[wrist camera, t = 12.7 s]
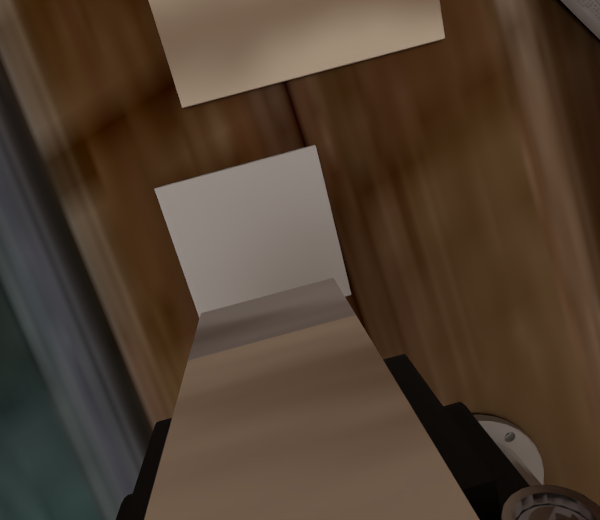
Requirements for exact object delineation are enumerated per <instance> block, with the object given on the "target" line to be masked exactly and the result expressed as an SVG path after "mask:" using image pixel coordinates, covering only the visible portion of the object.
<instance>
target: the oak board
mask: <svg viewBox="0 0 600 520" xmlns="http://www.w3.org/2000/svg"><path fill="white" fill-rule="evenodd" d="M149 3H150V7H151V10H152V13H153V16H154V19H155V22H156V26H157V29H158V32H159V35H160V38H161V42H162V45H163V48H164V51H165V54H166V57H167V61H168V64H169V67H170V70H171V73H172V76H173V80H174V83H175V86H176V89H177V92H178V96H179V99H180V102H181V105H182V108H186V107H190V106H194V105H197V104H201V103H205V102H209V101H213V100H216V99H220V98H224V97H228V96H231V95H235V94H239V93H243V92H247V91H250V90H254V89H258V88H262V87H265V86H269V85H273V84H277V83H281V82H284V81H288V80H292V79H296V78H299V77H303V76H307V75H311V74H315V73H318V72H322V71H326V70H330V69H334V68H337V67H341V66H345V65H349V64H352V63H356V62H360V61H364V60H368V59H371V58H375V57H379V56H383V55H386V54H390V53H394V52H398V51H402V50H405V49H409V48H413V47H417V46H420V45H424V44H428V43H432V42H436V41H439V40H442V39H444V38H445V35H444V29H443V22H442V15H441V9H440V2H439V0H149Z"/></svg>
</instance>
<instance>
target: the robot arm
mask: <svg viewBox="0 0 600 520" xmlns="http://www.w3.org/2000/svg"><path fill="white" fill-rule="evenodd" d="M383 361H384V362H385V364H386V366H387V367H388V369H389V371H390V372H391V374H392V376H393V377H394V379H395V381H396V382H397V384H398V386H399V387H400V389H401V391H402V392H403V394H404V395H405V397H406V399H407V400H408V402H409V404H410V405H411V407H412V409H413V410H414V412H415V414H416V415H417V417H418V419H419V420H420V422H421V424H422V425H423V427H424V429H425V430H426V432H427V434H428V435H429V437H430V439H431V440H432V442H433V443H434V445H435V447H436V448H437V450H438V452H439V453H440V455H441V457H442V458H443V460H444V462H445V463H446V465H447V467H448V468H449V470H450V472H451V473H452V475H453V477H454V478H455V480H456V482H457V483H458V485H459V487H460V488H461V490H462V491H463V493H464V495H465V496H466V498H467V500H468V501H469V503H470V505H471V506H472V508H473V510H474V511H475V513H476V515H477V516H478V518H479V520H600V507H599V506H598V505H597V504H596V503H595V502H593V501H592V500H590V499H589V498H587V497H586V496H584V495H582V494H580V493H578V492H575V491H573V490H570V489H568V488H564V487H559V486H553V485H543V484H544V466H543V462H542V457H541V455H540V453H539V451H538V449H537V447H536V446H535V444H534V443H533V442H532V441H531V440H530V438H529V437H528V436H527V435H526V434H525V433H524V432H523V431H522V430H521V429H519V428H518V427H517V426H515V425H514V424H512V423H510V422H509V421H507V420H504V419H501V418H498V417H495V416H488V415H480V414H479V415H472V413H471V412H470V411H469V410H468V408H467V407H466V406H465V405H464V404H463V403H461V402H457V403H454V404H450V405H447V406H442V404H441V403H440V402H439V400H438V399H437V397H436V396H435V395H434V393H433V392H432V390H431V389H430V388H429V386H428V385H427V384H426V382H425V381H424V379H423V378H422V377H421V375H420V374H419V372H418V371H417V370H416V368H415V367H414V366H413V364H412V363H411V361H410V360H409V359H408V357H407V356H406V355H405V354H402V355H398V356H395V357H391V358H388V359H384V360H383ZM171 420H172V418H170V419H166V420H162V421H159V422H157V423H156V424H155V427H154V430H153V433H152V436H151V439H150V442H149V445H148V449H147V452H146V455H145V458H144V461H143V464H142V467H141V470H140V473H139V476H138V479H137V482H136V485H135V488H134V491H133V494H130V495H127V496H126V497H125V498H124V500H123V502H122V504H121V506H120V509H119V512H118V515H117V518H116V520H144V518H145V515H146V511H147V507H148V504H149V500H150V497H151V493H152V489H153V486H154V482H155V478H156V475H157V471H158V467H159V464H160V460H161V457H162V453H163V449H164V446H165V442H166V438H167V435H168V431H169V428H170V424H171Z"/></svg>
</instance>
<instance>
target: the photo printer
mask: <svg viewBox="0 0 600 520" xmlns="http://www.w3.org/2000/svg"><path fill="white" fill-rule="evenodd" d="M561 1H562V2H563V3H564V4H565V5H566V6H567V7H568V8H569V9H570V11H571V12H572V13H573V14H574V15H575V16H576V17H577V18H578V19H579V20H580V21H581V22H582V23H583V24H584V25H585V26H586V27H587V28H588V29H590V30H591V31H592V32H593V33H594V34H595V35H596V36H597V37H598V38H599V39H600V0H561Z"/></svg>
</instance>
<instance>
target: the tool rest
mask: <svg viewBox="0 0 600 520" xmlns="http://www.w3.org/2000/svg"><path fill="white" fill-rule="evenodd" d="M155 192H156V195H157V198H158V201H159V204H160V206H161V209H162V212H163V215H164V218H165V221H166V224H167V226H168V229H169V232H170V235H171V238H172V241H173V244H174V247H175V249H176V252H177V255H178V258H179V261H180V264H181V267H182V270H183V272H184V275H185V278H186V281H187V284H188V287H189V290H190V292H191V295H192V298H193V301H194V304H195V307H196V310H197V313H198V315H199V318H200V315H201V313H204V312H207V311H211V310H215V309H218V308H222V307H226V306H230V305H233V304H237V303H241V302H245V301H248V300H252V299H256V298H260V297H263V296H267V295H271V294H275V293H278V292H282V291H286V290H290V289H293V288H297V287H301V286H305V285H308V284H312V283H316V282H319V281H323V280H327V279H331V278H334V280H335V281H336V283H337V285H338V286H339V288H340V290H341V291H342V293H343V295H344V296H348V295H351V291H350V287H349V283H348V278H347V274H346V270H345V266H344V262H343V258H342V253H341V249H340V245H339V241H338V237H337V233H336V228H335V224H334V220H333V216H332V212H331V208H330V203H329V199H328V195H327V191H326V187H325V182H324V178H323V174H322V170H321V166H320V162H319V157H318V153H317V149H316V145H311V146H307V147H304V148H300V149H296V150H293V151H289V152H285V153H282V154H278V155H274V156H270V157H267V158H263V159H259V160H256V161H252V162H248V163H245V164H241V165H237V166H234V167H230V168H226V169H223V170H219V171H215V172H212V173H208V174H204V175H200V176H197V177H193V178H189V179H186V180H182V181H178V182H175V183H171V184H167V185H164V186H160V187H157V188H155Z"/></svg>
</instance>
